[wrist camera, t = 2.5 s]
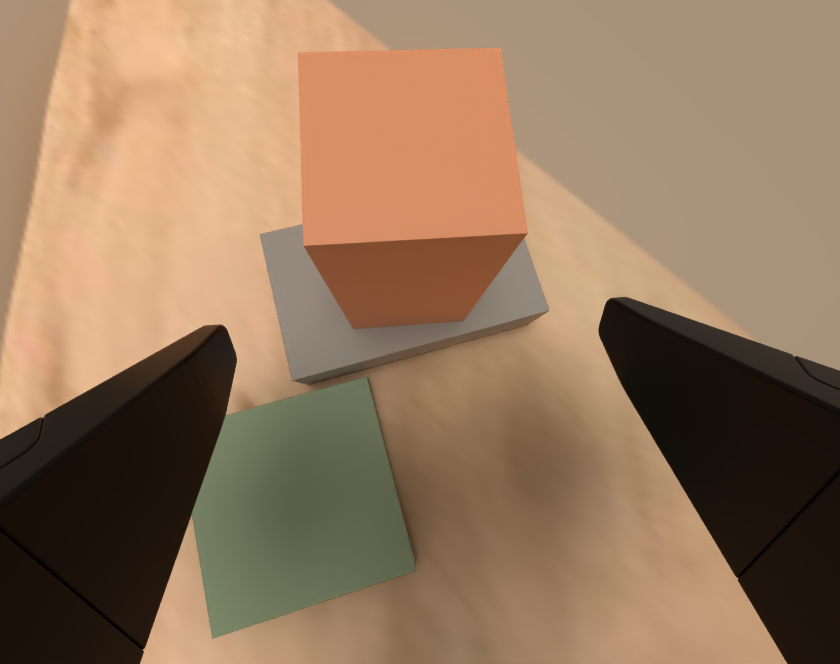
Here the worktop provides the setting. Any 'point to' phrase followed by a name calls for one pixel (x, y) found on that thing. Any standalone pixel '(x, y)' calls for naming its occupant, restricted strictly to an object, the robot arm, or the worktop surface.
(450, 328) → the slate block
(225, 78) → the worktop surface
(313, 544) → the green mat
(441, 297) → the terracotta block
